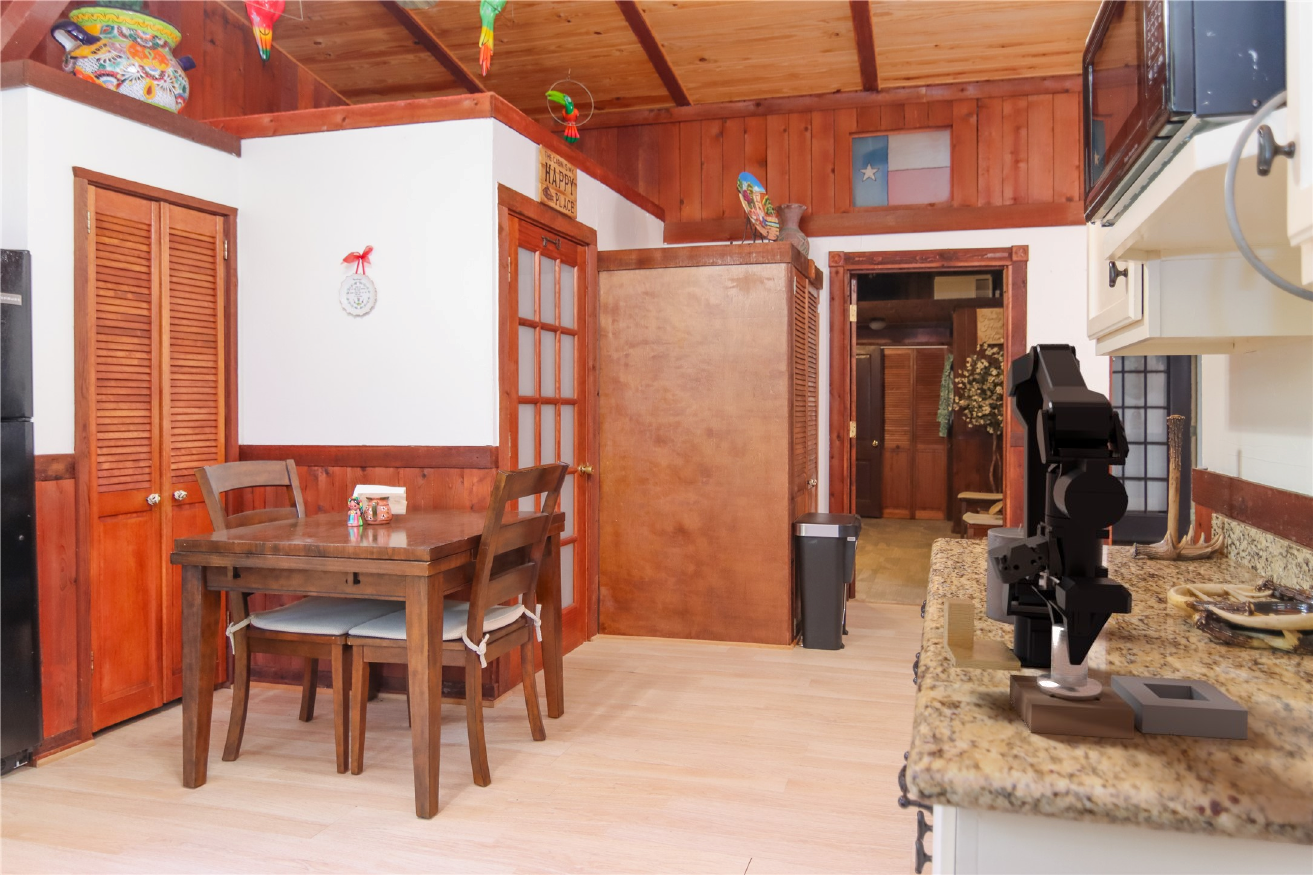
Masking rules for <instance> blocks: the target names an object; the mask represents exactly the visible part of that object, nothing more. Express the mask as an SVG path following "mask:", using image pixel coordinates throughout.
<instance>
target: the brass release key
mask: <svg viewBox="0 0 1313 875" xmlns="http://www.w3.org/2000/svg"><path fill="white" fill-rule="evenodd" d="M943 600H944V601H943V602H944V604H943V605H944V606H943V607H944V609H943V638H942V639H943V642H942V643H943V648H944V650H945V652H946V654H947V656H948V657H949V659H950V661H951V662H952V664H953V666H954V667H955V668H956V669H972V670H973V669H974V670H988V671H989V670H991V671H1008V672H1009V671H1011V672H1021V666H1022V665H1021V662H1020V661H1019V660H1018V658H1017V657H1016V656H1015V655H1014V653H1013V652H1012V651H1011V650H1010V647H1009V646H1008V645H1007V643H1006V642H1005V641H1004V640H993V639H975V611H976V610H975V608H976V607H975V606H976V605H975V603H974V601H973V600H972V599H971V598H962V597H944V599H943Z"/></svg>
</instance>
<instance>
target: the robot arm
mask: <svg viewBox="0 0 1313 875" xmlns="http://www.w3.org/2000/svg"><path fill="white" fill-rule="evenodd" d="M1006 396H1007V398H1011V399H1010V400H1011V402H1010V405H1011V406H1010V408H1011V412H1012V414H1013V415H1014V417H1015V419H1016V420H1017V422H1018V423H1019V425H1020V426H1021V428H1022V429H1023V528H1024V535H1023V539H1022V540H1018V541H1015V542H1012V543H1008V544H1005V545H1002V546H999V547H995V548H992V549H990V550H989V551H988V554H989V557H990V560H991V563H992V566H993V569H994V571H995V574H996V577H997V579H1000V580H1001V582H1002V583H1003V584H1004V586H1003V591H1002V609H1003V611H1004V612H1005V614H1006V616H1011V615H1012V616H1014V624H1013V648H1010V647H1009V648H1010V650H1011V651H1012V652H1013V653H1014V655H1015V656H1016V657H1017V658H1018V660H1019V661H1020V662H1021V666H1024V667H1025V666H1026V667H1043V668H1051V653H1052V625H1054V624H1060V623H1064V629H1065V637H1066V645H1067V652H1068V658H1069V663H1070V664H1071V665H1081V664H1082V662H1083V661H1084V659H1085V657H1086V655H1087V654H1088V655H1089V652H1090V651H1091V648H1092V647H1093V645H1094V643H1095V642H1096V640H1097V639H1098V636H1099V635H1100V633H1101V631H1102V630H1103V628H1104V626H1105V625H1106V624H1107V622H1108V621H1109V619H1110V618H1111V616H1112V615H1113V614H1116V615H1118V614H1119V615H1120V614H1122V615H1128V614H1132V611H1133V610H1132V605H1133V594H1132V593H1131V592H1130V591H1129V589H1127V588H1126V587H1125V585H1123V584H1122V583H1120V582H1118V581H1117V580H1116V579H1113V578H1112V577H1109V567H1106V566H1105V565H1103V559H1104V558H1103V552H1104V540H1110V536H1111V535H1110V534H1111V533H1110V531H1111V529H1109V528H1110V527H1112V526H1114V525H1115V524H1117V523H1118V522H1119V521H1120V520H1122V518H1123V517H1124V516H1125V514H1126V512H1127V509H1128V506H1129V495H1128V492H1127V489H1126V487H1125V485H1124V484H1123V482H1122V481H1121V480H1120V479H1119V478H1117V476H1115V475H1113V474H1112V473H1110V466H1120V467H1121V466H1122V467H1126V463H1127V462H1126V461H1127V459H1128V456H1129V453H1130V448H1129V442H1128V438H1127V434H1126V430H1125V425H1124V422H1123V421H1122V420H1121V419H1120V418H1121V417H1120V412H1118V410H1115V409H1114V406H1113V404H1112V402H1111V401H1110V400H1109V399H1108V397H1106V395H1105V394H1104V393H1100V392H1098V391H1095V390H1091V389H1089V388H1088V386H1087V384H1086V381H1085V379H1084V377H1083V374H1082V372H1081V362H1080V360H1079V359H1078V358H1077V350H1076V346H1075V345H1071V344H1069V343H1037V344H1036V345H1031V347H1030V348H1029V351H1028V352H1027V353H1025V354H1023V355H1021V356H1019V357H1017V358H1015V359H1013V360H1012V361H1011V363H1010V365H1009V367H1008V371H1007V376H1006ZM1109 448H1110V449H1109ZM1012 601H1013V602H1015V603H1016V604H1012Z"/></svg>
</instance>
